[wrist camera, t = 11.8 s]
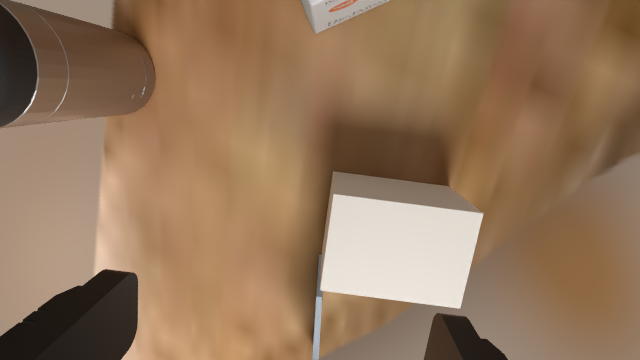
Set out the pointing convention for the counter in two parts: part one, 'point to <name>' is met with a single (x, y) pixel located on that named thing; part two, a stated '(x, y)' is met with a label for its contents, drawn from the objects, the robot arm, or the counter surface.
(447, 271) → the carton
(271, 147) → the counter surface
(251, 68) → the counter surface
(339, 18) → the skincare box
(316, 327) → the front flap
